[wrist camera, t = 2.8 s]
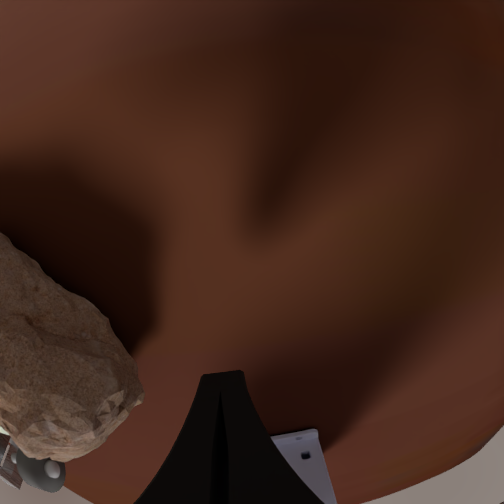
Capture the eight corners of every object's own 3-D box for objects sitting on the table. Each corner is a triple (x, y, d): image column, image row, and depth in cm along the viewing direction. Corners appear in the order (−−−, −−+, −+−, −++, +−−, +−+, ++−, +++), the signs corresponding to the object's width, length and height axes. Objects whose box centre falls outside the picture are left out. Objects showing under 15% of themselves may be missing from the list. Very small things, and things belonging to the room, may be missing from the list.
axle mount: (4, 420, 18) (-15, 462, 13) (32, 450, 20) (19, 489, 15) (-7, 417, 18) (-25, 457, 13) (21, 447, 20) (8, 485, 15)
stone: (169, 340, 18) (174, 394, 8) (106, 445, 15) (80, 542, 6) (22, 230, 15) (-66, 184, 6) (-28, 339, 13) (-117, 358, 4)
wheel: (46, 434, 18) (31, 478, 13) (74, 462, 20) (64, 501, 15) (7, 425, 18) (-8, 462, 13) (34, 453, 20) (23, 487, 15)
